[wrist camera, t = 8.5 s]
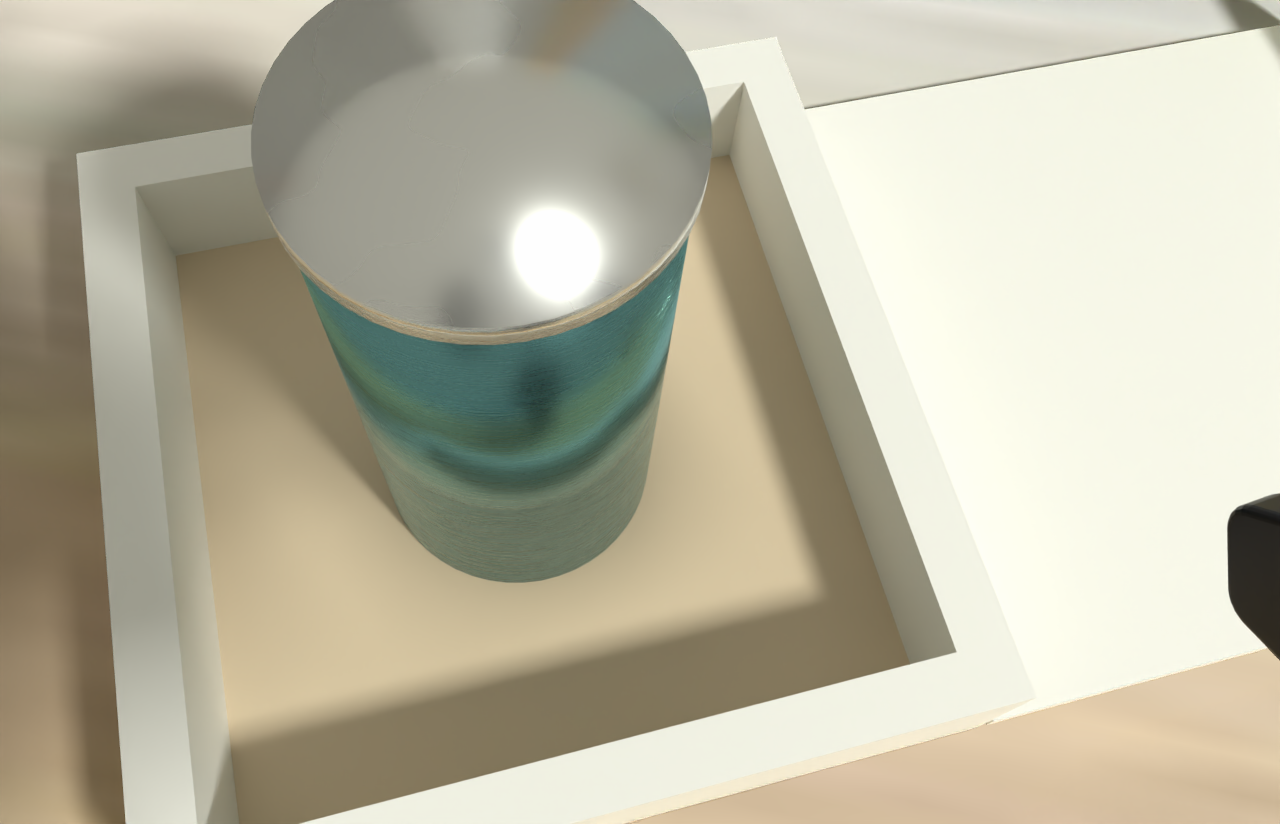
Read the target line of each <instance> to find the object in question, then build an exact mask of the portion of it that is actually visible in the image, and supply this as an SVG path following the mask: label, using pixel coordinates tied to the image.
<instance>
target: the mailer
mask: <svg viewBox="0 0 1280 824" xmlns="http://www.w3.org/2000/svg"><path fill="white" fill-rule="evenodd" d="M685 53H686V54H687V56H688V58H689V60H690V62H691V63H692V65H693V67H694V69H695V70H696V72H697V74H698V76H699V79H700V82H701V84H702V87H703V90H704V92H705V95H706V98H707V103H708V107H709V112H710V117H711V125H712V153H711V162H710V170H709V175H708V180H707V186H706V190H705V194H704V198H703V201H702V205H701V208H700V212H699V214H698V217H697V219H696V221H695V223H694V225H693V228H692V230H691V232H690V234H689V238H688V244H687V250H686V256H685V261H684V267H683V273H682V278H681V284H680V290H679V296H678V301H677V307H676V313H675V318H674V324H673V330H672V335H671V341H670V347H669V353H668V358H667V364H666V370H665V375H664V381H663V387H662V393H661V398H660V404H659V410H658V415H657V421H656V427H655V433H654V438H653V444H652V450H651V455H650V461H649V467H648V473H647V478H646V483H645V487H644V491H643V494H642V498H641V500H640V503H639V505H638V507H637V510H636V512H635V514H634V515H633V517H632V519H631V520H630V522H629V524H628V525H627V527H626V528H625V529H624V531H623V532H622V533H621V534H620V536H619V537H618V538H617V539H616V540H615V541H614V542H613V543H612V544H611V545H610V546H609V547H608V548H607V549H606V550H605V551H604V552H602V553H601V554H600V555H598V556H597V557H596V558H594V559H593V560H591V561H590V562H588V563H586V564H585V565H583V566H581V567H579V568H577V569H576V570H573V571H571V572H568V573H566V574H563V575H560V576H557V577H553V578H550V579H546V580H542V581H534V582H526V583H505V582H497V581H490V580H485V579H482V578H478V577H474V576H471V575H468V574H466V573H464V572H461V571H459V570H456V569H454V568H453V567H451V566H449V565H447V564H446V563H444V562H442V561H441V560H439V559H438V558H437V557H435V556H434V555H433V554H431V553H430V552H429V551H428V550H427V549H426V548H425V547H424V546H423V545H422V544H421V543H420V542H419V541H418V540H417V539H416V538H415V537H414V535H413V534H412V533H411V531H410V530H409V529H408V527H407V526H406V524H405V523H404V521H403V519H402V517H401V515H400V513H399V511H398V509H397V507H396V504H395V502H394V499H393V497H392V494H391V492H390V489H389V487H388V485H387V482H386V480H385V477H384V475H383V472H382V470H381V467H380V465H379V462H378V460H377V457H376V455H375V453H374V450H373V448H372V445H371V443H370V440H369V438H368V435H367V433H366V430H365V428H364V426H363V423H362V421H361V418H360V416H359V413H358V411H357V408H356V406H355V403H354V401H353V398H352V396H351V394H350V391H349V389H348V386H347V384H346V381H345V379H344V376H343V374H342V371H341V369H340V367H339V364H338V362H337V359H336V357H335V354H334V352H333V349H332V347H331V344H330V342H329V339H328V337H327V335H326V332H325V330H324V327H323V325H322V322H321V320H320V317H319V315H318V312H317V310H316V308H315V305H314V303H313V300H312V298H311V295H310V293H309V290H308V288H307V285H306V283H305V280H304V278H303V276H302V273H301V271H300V268H299V267H298V266H297V264H296V263H295V262H294V260H293V259H292V258H291V257H290V255H289V254H288V253H287V251H286V250H285V248H284V247H283V245H282V243H281V241H280V239H279V237H278V236H277V234H276V232H275V230H274V228H273V226H272V224H271V221H270V219H269V217H268V214H267V212H266V210H265V207H264V205H263V202H262V199H261V196H260V193H259V190H258V188H257V185H256V182H255V176H254V171H253V165H252V159H251V129H252V124H250V125H244V126H238V127H232V128H226V129H220V130H214V131H208V132H202V133H196V134H190V135H184V136H178V137H172V138H166V139H160V140H154V141H148V142H142V143H136V144H130V145H124V146H118V147H112V148H106V149H100V150H94V151H88V152H82V153H76V157H77V171H78V185H79V198H80V212H81V225H82V239H83V252H84V266H85V279H86V293H87V306H88V320H89V333H90V347H91V360H92V374H93V387H94V401H95V414H96V428H97V442H98V455H99V469H100V482H101V496H102V509H103V523H104V536H105V550H106V563H107V577H108V590H109V604H110V617H111V631H112V644H113V658H114V671H115V685H116V699H117V712H118V726H119V739H120V753H121V766H122V780H123V793H124V807H125V820H126V824H625V823H629V822H632V821H636V820H640V819H643V818H647V817H651V816H654V815H658V814H662V813H665V812H669V811H673V810H676V809H680V808H684V807H687V806H691V805H695V804H698V803H702V802H706V801H709V800H713V799H717V798H720V797H724V796H728V795H731V794H735V793H739V792H742V791H746V790H750V789H753V788H757V787H761V786H764V785H768V784H772V783H775V782H779V781H783V780H786V779H790V778H794V777H797V776H801V775H805V774H808V773H812V772H816V771H819V770H823V769H827V768H830V767H834V766H838V765H841V764H845V763H849V762H852V761H856V760H860V759H863V758H867V757H871V756H875V755H878V754H882V753H886V752H889V751H893V750H897V749H900V748H904V747H908V746H911V745H915V744H919V743H922V742H926V741H930V740H933V739H937V738H941V737H944V736H948V735H952V734H955V733H959V732H963V731H966V730H970V729H974V728H977V727H979V726H981V725H983V724H985V723H986V725H988V724H992V723H996V722H999V721H1003V720H1007V719H1010V718H1014V717H1018V716H1021V715H1025V714H1029V713H1032V712H1036V711H1040V710H1043V709H1047V708H1051V707H1054V706H1058V705H1062V704H1065V703H1069V702H1073V701H1076V700H1080V699H1084V698H1087V697H1091V696H1095V695H1098V694H1102V693H1106V692H1109V691H1113V690H1117V689H1120V688H1124V687H1128V686H1131V685H1135V684H1139V683H1142V682H1146V681H1150V680H1153V679H1157V678H1161V677H1164V676H1168V675H1172V674H1175V673H1179V672H1183V671H1186V670H1190V669H1194V668H1197V667H1201V666H1205V665H1208V664H1212V663H1216V662H1219V661H1223V660H1227V659H1231V658H1234V657H1238V656H1242V655H1245V654H1249V653H1253V652H1256V651H1260V650H1264V649H1267V647H1266V646H1265V645H1264V644H1263V643H1262V642H1261V641H1260V640H1259V639H1258V638H1257V637H1256V635H1255V634H1254V633H1253V632H1252V631H1251V630H1250V629H1249V628H1248V627H1247V626H1246V625H1245V624H1244V623H1243V622H1242V621H1241V620H1240V618H1239V617H1238V615H1237V614H1236V612H1235V610H1234V608H1233V606H1232V604H1231V601H1230V598H1229V593H1228V558H1227V523H1228V519H1229V517H1230V514H1231V513H1232V511H1233V510H1235V509H1236V508H1237V507H1238V506H1240V505H1243V504H1246V503H1249V502H1251V501H1254V500H1257V499H1260V498H1263V497H1265V496H1268V495H1271V494H1277V493H1280V25H1277V26H1271V27H1266V28H1260V29H1255V30H1249V31H1243V32H1238V33H1232V34H1226V35H1221V36H1215V37H1210V38H1204V39H1198V40H1193V41H1187V42H1181V43H1176V44H1170V45H1165V46H1159V47H1153V48H1148V49H1142V50H1136V51H1131V52H1125V53H1120V54H1114V55H1108V56H1103V57H1097V58H1091V59H1086V60H1080V61H1075V62H1069V63H1063V64H1058V65H1052V66H1046V67H1041V68H1035V69H1030V70H1024V71H1018V72H1013V73H1007V74H1001V75H996V76H990V77H985V78H979V79H973V80H968V81H962V82H956V83H951V84H945V85H940V86H934V87H928V88H923V89H917V90H911V91H906V92H900V93H895V94H889V95H883V96H878V97H872V98H866V99H861V100H855V101H850V102H844V103H838V104H833V105H827V106H821V107H816V108H810V109H804V107H803V104H802V102H801V99H800V97H799V94H798V92H797V89H796V87H795V84H794V81H793V79H792V76H791V74H790V71H789V69H788V66H787V64H786V61H785V59H784V56H783V54H782V51H781V49H780V46H779V43H778V41H777V38H776V37H772V38H766V39H760V40H754V41H748V42H742V43H736V44H730V45H724V46H718V47H712V48H706V49H700V50H694V51H688V52H685Z"/></svg>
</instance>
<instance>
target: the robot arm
mask: <svg viewBox="0 0 1280 824" xmlns="http://www.w3.org/2000/svg"><path fill="white" fill-rule="evenodd" d="M1227 558H1228V593H1229V598H1230V601H1231V604H1232V606H1233V608H1234V610H1235V612H1236V614H1237V615H1238V617H1239V618H1240V620H1241V621H1242V622H1243V623H1244V624H1245V625H1246V626H1247V627H1248V628H1249V629H1250V630H1251V631H1252V632H1253V633H1254V634H1255V635H1256V637H1257V638H1258V639H1259V640H1260V641H1261V642H1262V643H1263V644H1264V645H1265V646H1266V647H1267V648H1268V649H1269V650H1270V651H1271V652H1272V653H1273V654H1274V655H1275V656H1276V657H1277V658H1278V659H1279V660H1280V493H1277V494H1271V495H1268V496H1265V497H1263V498H1260V499H1257V500H1254V501H1251V502H1249V503H1246V504H1243V505H1240V506H1238V507H1237V508H1236V509H1235V510H1233V511H1232V513H1231V514H1230V517H1229V519H1228V523H1227Z"/></svg>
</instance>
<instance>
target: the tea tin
mask: <svg viewBox="0 0 1280 824" xmlns="http://www.w3.org/2000/svg"><path fill="white" fill-rule="evenodd" d="M711 153H712V125H711V117H710V112H709V107H708V103H707V98H706V95H705V92H704V90H703V87H702V84H701V82H700V79H699V76H698V74H697V72H696V70H695V69H694V67H693V65H692V63H691V62H690V60H689V58H688V56H687V54H686V53H685V52H684V50H683V49H682V48H681V46H680V45H679V44H678V42H677V41H676V40H675V38H674V37H673V36H672V34H671V33H670V32H669V31H668V30H667V29H666V28H665V27H664V26H663V25H662V24H661V23H660V22H659V21H658V20H657V19H656V18H655V17H654V16H653V15H651V14H650V13H649V12H647V11H646V10H645V9H644V8H642V7H641V6H640V5H639V4H637V3H636V2H635V1H633V0H334V1H333V2H331V3H330V4H328V5H327V6H325V7H324V8H323V9H322V10H320V11H319V12H318V13H317V14H316V15H315V16H313V17H312V18H311V19H310V20H309V21H307V22H306V23H305V24H304V25H303V26H302V27H301V29H300V30H299V31H298V32H297V33H296V34H295V35H294V36H293V37H292V38H291V39H290V40H289V42H288V43H287V44H286V46H285V47H284V49H283V50H282V51H281V53H280V54H279V56H278V57H277V59H276V60H275V61H274V63H273V65H272V67H271V69H270V71H269V73H268V75H267V77H266V79H265V81H264V83H263V85H262V88H261V91H260V94H259V97H258V100H257V103H256V106H255V110H254V117H253V123H252V129H251V159H252V165H253V171H254V176H255V182H256V185H257V188H258V190H259V193H260V196H261V199H262V202H263V205H264V207H265V210H266V212H267V214H268V217H269V219H270V221H271V224H272V226H273V228H274V230H275V232H276V234H277V236H278V237H279V239H280V241H281V243H282V245H283V247H284V248H285V250H286V251H287V253H288V254H289V255H290V257H291V258H292V259H293V260H294V262H295V263H296V264H297V266H298V267H299V268H300V271H301V273H302V276H303V278H304V280H305V283H306V285H307V288H308V290H309V293H310V295H311V298H312V300H313V303H314V305H315V308H316V310H317V312H318V315H319V317H320V320H321V322H322V325H323V327H324V330H325V332H326V335H327V337H328V339H329V342H330V344H331V347H332V349H333V352H334V354H335V357H336V359H337V362H338V364H339V367H340V369H341V371H342V374H343V376H344V379H345V381H346V384H347V386H348V389H349V391H350V394H351V396H352V398H353V401H354V403H355V406H356V408H357V411H358V413H359V416H360V418H361V421H362V423H363V426H364V428H365V430H366V433H367V435H368V438H369V440H370V443H371V445H372V448H373V450H374V453H375V455H376V457H377V460H378V462H379V465H380V467H381V470H382V472H383V475H384V477H385V480H386V482H387V485H388V487H389V489H390V492H391V494H392V497H393V499H394V502H395V504H396V507H397V509H398V511H399V513H400V515H401V517H402V519H403V521H404V523H405V524H406V526H407V527H408V529H409V530H410V531H411V533H412V534H413V535H414V537H415V538H416V539H417V540H418V541H419V542H420V543H421V544H422V545H423V546H424V547H425V548H426V549H427V550H428V551H429V552H430V553H431V554H433V555H434V556H435V557H437V558H438V559H439V560H441V561H442V562H444V563H446V564H447V565H449V566H451V567H453V568H454V569H456V570H459V571H461V572H464V573H466V574H468V575H471V576H474V577H478V578H482V579H485V580H490V581H497V582H505V583H526V582H534V581H542V580H546V579H550V578H553V577H557V576H560V575H563V574H566V573H568V572H571V571H573V570H576V569H577V568H579V567H581V566H583V565H585V564H586V563H588V562H590V561H591V560H593V559H594V558H596V557H597V556H598V555H600V554H601V553H602V552H604V551H605V550H606V549H607V548H608V547H609V546H610V545H611V544H612V543H613V542H614V541H615V540H616V539H617V538H618V537H619V536H620V534H621V533H622V532H623V531H624V529H625V528H626V527H627V525H628V524H629V522H630V520H631V519H632V517H633V515H634V514H635V512H636V510H637V507H638V505H639V503H640V500H641V498H642V494H643V491H644V487H645V483H646V478H647V473H648V467H649V461H650V455H651V450H652V444H653V438H654V433H655V427H656V421H657V415H658V410H659V404H660V398H661V393H662V387H663V381H664V375H665V370H666V364H667V358H668V353H669V347H670V341H671V335H672V330H673V324H674V318H675V313H676V307H677V301H678V296H679V290H680V284H681V278H682V273H683V267H684V261H685V256H686V250H687V244H688V238H689V234H690V232H691V230H692V228H693V225H694V223H695V221H696V219H697V217H698V214H699V212H700V208H701V205H702V201H703V198H704V194H705V190H706V186H707V180H708V175H709V170H710V162H711Z"/></svg>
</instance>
